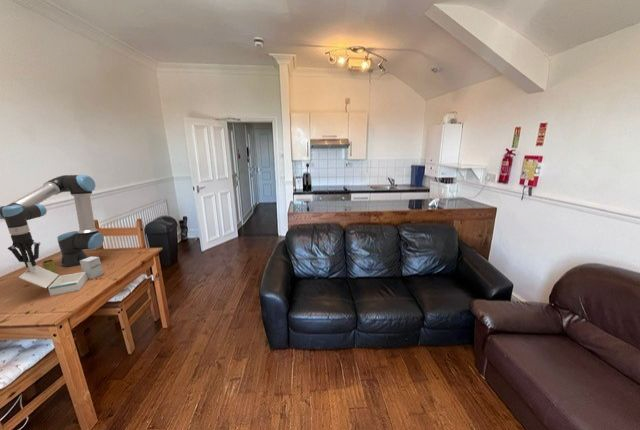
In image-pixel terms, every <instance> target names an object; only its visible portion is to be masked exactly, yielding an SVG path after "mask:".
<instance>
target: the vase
mask: <svg viewBox="0 0 640 430" xmlns="http://www.w3.org/2000/svg"><path fill="white" fill-rule="evenodd" d="M41 264H42V266H43V267H42V268H44V269H46V270H49V271H51V272H53V273H56V274H58V276H57V277H56V278H55V279H54V280H53V281H52V282H51V283H50V284H49V285H51V284H52V283H53V282H54V281H55V280H56V279H57V278H58V277H59V276H60V274H59V272H58V269H57V266H56V263H55V259H53V258H52V259H47V260H43V261H42V263H41Z"/></svg>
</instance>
